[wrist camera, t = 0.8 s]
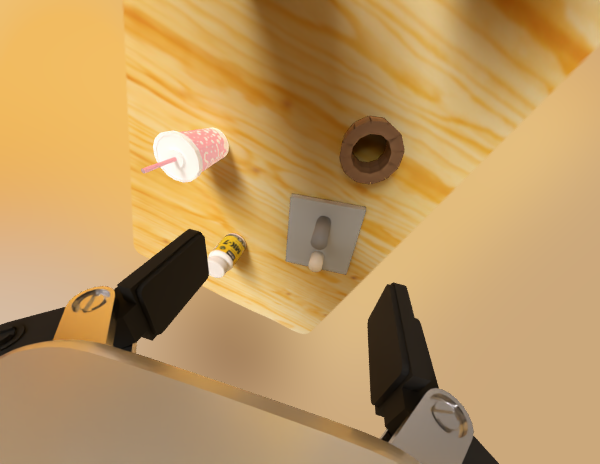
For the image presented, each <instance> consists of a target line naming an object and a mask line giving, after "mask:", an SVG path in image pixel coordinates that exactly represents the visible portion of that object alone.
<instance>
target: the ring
mask: <svg viewBox="0 0 600 464" xmlns="http://www.w3.org/2000/svg"><path fill="white" fill-rule="evenodd" d="M369 134H376V135H382V136H383V137H384V138H385V139H386V143H387V144H386V148H385V151H384V153H383V154H382V155H381V156H380V157H379V158H378V159H377V160H375V161H372V162H369V163H368V162H362V161H359V160H358V159H357V158H356V157H355V156H354V154H353V151H352V149H353V146H354V145H355V144H356V143H357V141H358V140H359V139H360V138H362V137H364V136H367V135H369ZM403 154H404V145H403V140H402V135H401V134H400V133H399V132H398V131H397V130H396V129H395V128H394V127H393V126H392V125H391V124H390V123H389V122H388V121H387V120H386V119H385V118H382V117H374V116H369V117H368V116H367V117H365V118H363V119H361V120H358V121H356V122H355V123H353V125H352V126H351V127H350V128H349V130H348V131H347V132H346V133H345V135H344V139H343V142H342V147H341V152H340V162H341V164H342V167H343V170H344V172H345V174H347V175H348V176H349V177H350V178H351V179H353V180H354V181H356V182H359V183H365V184H370V182H371V184H373V183H376V182H380V181H383V180H385V178H386V179H387V178H388V177H389V176H390V175H391V174H392V173H393V172H395V171H396V170H397V169H398V167H399V165H400V163H401V160H402V157H403Z"/></svg>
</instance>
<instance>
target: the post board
mask: <svg viewBox="0 0 600 464" xmlns="http://www.w3.org/2000/svg"><path fill="white" fill-rule="evenodd" d="M365 212H366V207H363V206H357V205H352V204H346V203H341V202H335V201H330V200H325V199H319V198H314V197H308V196H303V195H297V194H292V195H291V198H290V211H289V224H288V237H287V249H286V261H287V262H291V263H296V264H300V265H305V266H308V267H309V269H310V270H311V271H313V272H319V271H321V269H323V270H327V271H331V272H336V273H340V274H345V275H346V274H347V271H348V267H349V264H350V261H351V258H352V255H353V251H354V248H355V245H356V242H357V238H358V235H359V232H360V229H361V225H362V222H363V219H364V216H365Z"/></svg>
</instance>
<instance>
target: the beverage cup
mask: <svg viewBox="0 0 600 464" xmlns="http://www.w3.org/2000/svg"><path fill="white" fill-rule="evenodd" d="M153 149H154V155H155V158H156V160H157V162H158V163H156V164H154V165H151V166H148V167H145V168H143V169H141V171H142V173H147V172H149V171H152V170H154V169H157V168H159V167H161V168H162V169H163V171H164V172H165V173H166V174H167V175H169V176H170V177H171V178H173V179H174V180H177V181H180V182H191V181H192V180H194V179H195V178H197V177H198V176H199V175H200V174H201V172H202V171H204V170H205V169H207V168H208V167H210V166H211V165H213V164H214V163H216V162H217V161H219V160H220V159H222V158H223V157H225V156H226V155H227V153H228V151H229V144H228V141H227V138H226V137H225V135H224V134H223V133H222V132H221V131H220V130H218V129H215V128H206V129H198V130H191V131H184V132H177V131H167V132H162V133H160V134H159V135H158V136H157V137H156V138H155V140H154V145H153Z"/></svg>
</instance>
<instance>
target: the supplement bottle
mask: <svg viewBox="0 0 600 464" xmlns="http://www.w3.org/2000/svg"><path fill="white" fill-rule="evenodd" d="M245 249H246V242H245V240H244V239H243V238H242V237H241V236H239V235H237V234H234V233H230V234H228V235H226V236H225V237H224V238H223V240H222V241H221V242H220V243H219V244H218V245H217V246H216V247H215V248H214V249H213V250H212V251H211V253H210V254H209V258H208V259H207V260H208V268H209V275H211V276H213V277H216V278H221V277H223V276H224V275H225V273H226V272H227V271H229V270H230V269H231V268H232V267H233V266H234V265H235V263H236V262H237V260H238V259H239V258H240V256H241V255H242V253H243V252H244V251H245Z"/></svg>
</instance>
